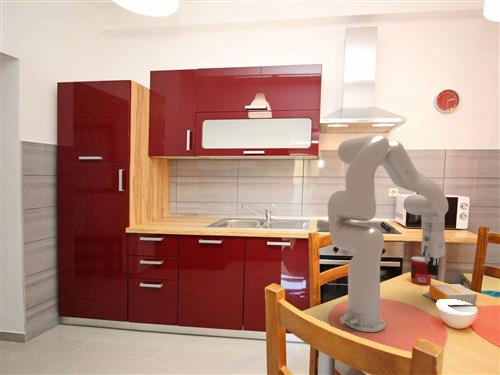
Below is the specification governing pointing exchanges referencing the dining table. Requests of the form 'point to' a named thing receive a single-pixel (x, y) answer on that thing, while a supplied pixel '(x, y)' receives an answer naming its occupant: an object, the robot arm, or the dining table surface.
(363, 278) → the robot arm
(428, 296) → the grey rubber mat
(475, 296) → the supplement box
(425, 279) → the canned food
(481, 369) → the dining table surface
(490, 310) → the dining table surface
